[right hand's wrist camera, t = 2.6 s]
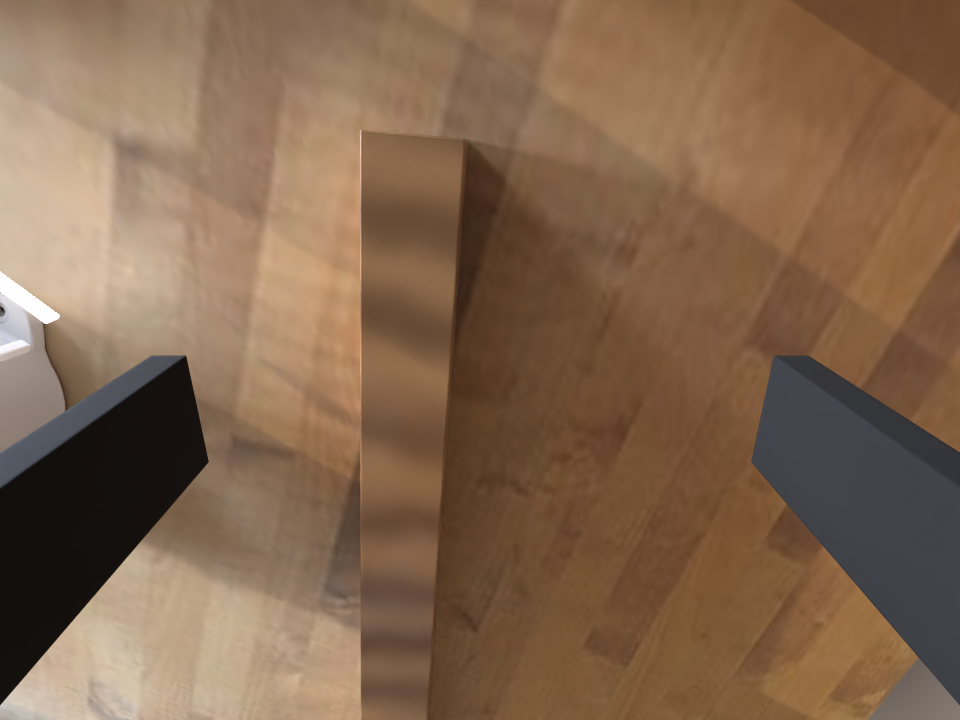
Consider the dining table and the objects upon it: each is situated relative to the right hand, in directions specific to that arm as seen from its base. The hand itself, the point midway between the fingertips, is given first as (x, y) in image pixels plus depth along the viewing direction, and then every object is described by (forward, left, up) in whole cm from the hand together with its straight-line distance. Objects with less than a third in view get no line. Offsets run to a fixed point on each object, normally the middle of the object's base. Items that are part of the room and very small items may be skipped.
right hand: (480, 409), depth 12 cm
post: (+8, -22, -26) cm, 35 cm away
